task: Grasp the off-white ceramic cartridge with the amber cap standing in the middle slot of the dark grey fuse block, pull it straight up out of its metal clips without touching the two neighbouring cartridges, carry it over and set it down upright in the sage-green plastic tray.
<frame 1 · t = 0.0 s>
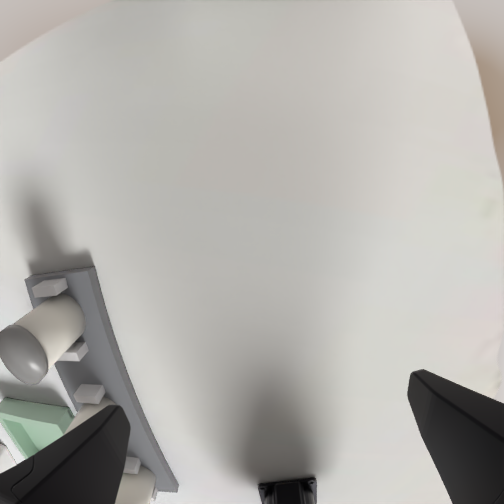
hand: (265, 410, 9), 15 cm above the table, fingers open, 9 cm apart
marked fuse: (104, 411, 25), point 1 cm above the table, touching fuse block
medicine bottle: (0, 451, 31), on the table
tray: (54, 436, 28), on the table
fuse block: (108, 403, 26), on the table
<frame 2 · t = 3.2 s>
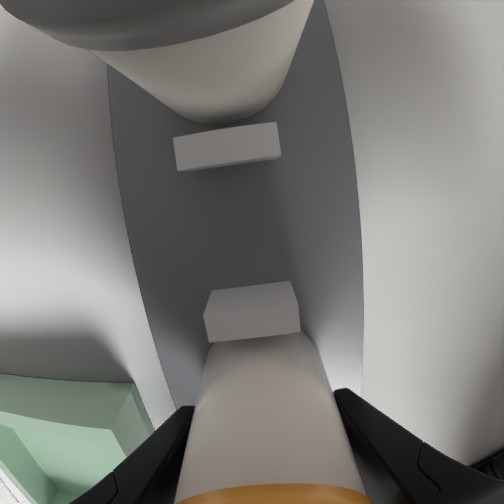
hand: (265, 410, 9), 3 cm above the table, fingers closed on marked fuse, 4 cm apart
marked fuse: (263, 372, 10), point 1 cm above the table, touching fuse block, gripper
tray: (82, 453, 14), on the table
fuse block: (262, 354, 12), on the table
when the fingers open (3 cm above the table, at t = 8.1 s): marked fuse stays where it is, resting on tray.
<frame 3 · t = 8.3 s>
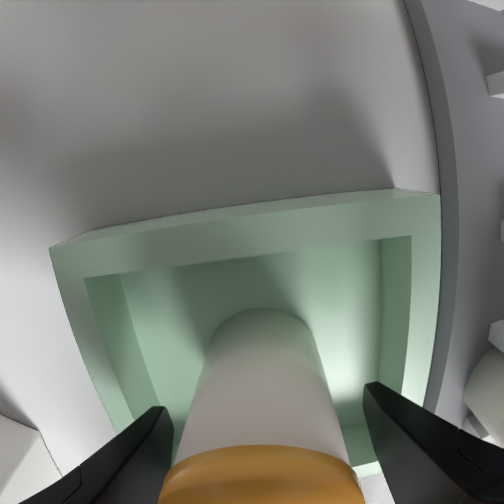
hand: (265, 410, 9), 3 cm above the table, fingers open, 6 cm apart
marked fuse: (262, 358, 11), point 1 cm above the table, touching tray
medicine bottle: (19, 446, 15), on the table
tray: (261, 350, 12), on the table
fuse block: (498, 158, 10), on the table
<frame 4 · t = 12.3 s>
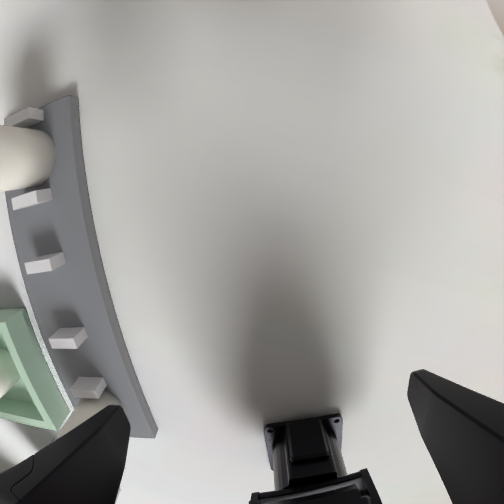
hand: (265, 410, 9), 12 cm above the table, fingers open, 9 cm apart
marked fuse: (5, 364, 22), point 1 cm above the table, touching tray
tray: (9, 361, 23), on the table
fuse block: (69, 291, 21), on the table
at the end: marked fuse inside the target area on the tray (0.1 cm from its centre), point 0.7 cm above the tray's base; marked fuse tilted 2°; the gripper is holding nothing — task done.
